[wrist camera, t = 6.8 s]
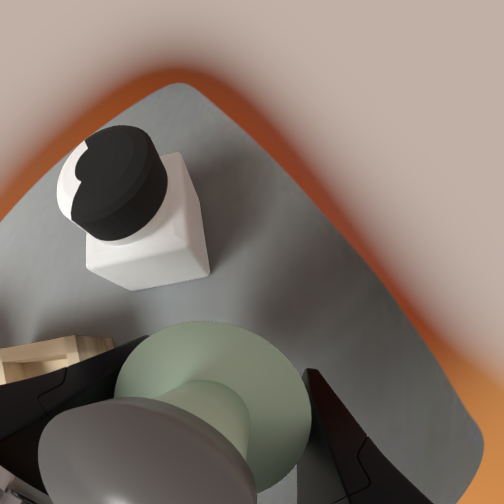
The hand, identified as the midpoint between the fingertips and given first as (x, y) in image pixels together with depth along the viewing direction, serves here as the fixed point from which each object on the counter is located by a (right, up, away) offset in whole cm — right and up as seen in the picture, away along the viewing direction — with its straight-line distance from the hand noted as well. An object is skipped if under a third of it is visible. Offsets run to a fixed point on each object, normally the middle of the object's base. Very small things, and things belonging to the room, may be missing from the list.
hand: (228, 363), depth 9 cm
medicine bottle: (-7, +4, +14) cm, 16 cm away
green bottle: (0, -4, +6) cm, 7 cm away
